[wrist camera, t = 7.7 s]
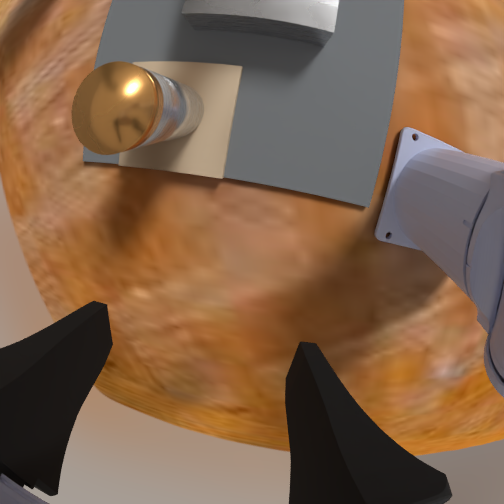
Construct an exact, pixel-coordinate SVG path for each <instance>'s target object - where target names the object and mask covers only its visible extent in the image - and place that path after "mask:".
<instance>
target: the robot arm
mask: <svg viewBox="0 0 504 504" xmlns="http://www.w3.org/2000/svg"><path fill="white" fill-rule="evenodd" d="M413 134H415V135H416V139H415V140H413V139H412V135H413ZM388 232H390V235H389V237H386V234H387V233H388ZM375 237H376V238H377V239H378V240H380V241H383V242H388V243H392V244H396V245H400V246H404V247H409V248H413V249H417V250H421V251H423V252H424V253H425V254H426V255H427V256H428V257H429V258H430V259H431V260H433V261H434V262H435V263H436V264H437V265H438V266H439V267H440V268H441V269H442V270H443V271H444V272H445V273H446V274H447V275H448V276H449V277H450V278H451V279H452V280H453V281H454V282H455V283H456V284H457V285H458V286H459V288H460V289H461V290H462V291H463V292H464V293H465V294H466V295H467V296H468V297H469V298H470V299H471V300H472V301H473V302H474V304H475V305H476V307H477V310H478V315H477V321H478V322H479V323H480V324H481V326H482V327H483V328H484V329H485V331H486V332H487V333H488V337H487V340H486V344H485V348H484V364H485V368H486V372H487V375H488V377H489V379H490V381H491V383H492V384H493V386H494V387H495V389H496V390H497V391H498V392H499V393H500V394H501V395H502V396H503V397H504V163H503V162H499V161H495V160H492V159H488V158H484V157H480V156H476V155H472V154H467V153H464V152H462V151H460V150H458V149H456V148H454V147H452V146H450V145H448V144H446V143H444V142H442V141H440V140H438V139H436V138H433V137H431V136H429V135H427V134H424V133H422V132H420V131H417V130H415V129H412V128H410V127H404V128H403V129H402V130H401V132H400V137H399V142H398V147H397V151H396V155H395V160H394V164H393V168H392V172H391V176H390V180H389V184H388V188H387V191H386V195H385V199H384V202H383V206H382V209H381V213H380V216H379V219H378V223H377V226H376V229H375ZM112 345H113V342H112V336H111V330H110V323H109V316H108V308H107V304H103V303H100V302H96V301H92V302H90V303H88V304H87V305H85V306H83V307H81V308H80V309H78V310H76V311H74V312H73V313H71V314H69V315H68V316H66V317H64V318H62V319H61V320H59V321H57V322H55V323H54V324H52V325H50V326H48V327H47V328H45V329H43V330H41V331H39V332H37V333H35V334H33V335H31V336H29V337H27V338H25V339H23V340H21V341H19V342H16V343H14V344H11V345H9V346H6V347H3V348H0V504H49V503H47V502H45V501H43V500H42V499H40V498H38V497H37V496H35V495H33V494H32V493H30V492H28V491H27V490H25V489H24V488H23V486H24V484H25V485H26V486H28V487H29V488H31V489H33V488H34V487H35V488H37V489H39V490H40V491H42V492H44V493H46V494H47V495H49V496H54V495H57V494H58V487H59V480H60V474H61V468H62V464H63V459H64V455H65V451H66V447H67V444H68V441H69V437H70V434H71V431H72V428H73V426H74V423H75V420H76V417H77V415H78V413H79V411H80V408H81V406H82V404H83V403H84V401H85V399H86V397H87V395H88V394H89V392H90V390H91V388H92V386H93V385H94V383H95V381H96V379H97V377H98V376H99V374H100V372H101V370H102V369H103V367H104V365H105V362H106V360H107V358H108V355H109V353H110V350H111V348H112ZM285 404H286V415H287V424H288V434H289V443H290V453H291V474H290V475H291V476H290V494H289V504H444V503H445V502H447V501H448V500H449V499H450V498H451V497H452V493H451V490H450V486H449V483H448V480H447V477H446V475H445V474H444V473H442V472H440V471H438V470H436V469H434V468H433V467H431V466H429V465H427V464H426V463H424V462H422V461H421V460H419V459H417V458H416V457H415V456H413V455H412V454H410V453H409V452H408V451H406V450H405V449H404V448H402V447H401V446H400V445H398V444H397V443H396V442H395V441H394V440H393V439H391V438H390V437H389V436H388V435H387V434H386V433H385V432H383V431H382V430H381V429H380V428H379V427H378V426H377V425H376V424H375V423H374V422H373V421H372V420H371V418H370V417H369V416H368V415H367V414H366V413H365V412H364V411H363V410H362V409H361V407H360V406H359V405H358V404H357V402H356V401H355V400H354V399H353V397H352V396H351V395H350V393H349V392H348V391H347V389H346V388H345V387H344V385H343V384H342V382H341V381H340V379H339V378H338V377H337V375H336V374H335V372H334V371H333V369H332V367H331V366H330V364H329V363H328V361H327V360H326V358H325V357H324V355H323V353H322V352H321V350H320V349H319V347H318V346H317V344H316V343H308V342H300V343H299V345H298V348H297V351H296V353H295V356H294V359H293V361H292V364H291V366H290V369H289V372H288V374H287V377H286V389H285Z"/></svg>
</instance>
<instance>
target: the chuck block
mask: <svg viewBox="0 0 504 504" xmlns="http://www.w3.org/2000/svg"><path fill="white" fill-rule="evenodd" d="M338 4H339V0H185V2H184V6H183V9H182V13H181V14H182V15H183V16H184V17H185V18H186V20H187V21H188V22H189V23H190V25H191V26H192V27H193V28H194V30H215V31H229V32H240V33H249V34H257V35H264V36H271V37H277V38H282V39H288V40H293V41H298V42H303V43H307V44H311V45H316V46H320V47H324V46H325V45H326V44H327V42H328V41H329V39H330V38H331V36H332V35H333V33H334V30H335V24H336V17H337V10H338Z"/></svg>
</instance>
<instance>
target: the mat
mask: <svg viewBox="0 0 504 504" xmlns="http://www.w3.org/2000/svg"><path fill="white" fill-rule="evenodd" d="M184 2H185V0H112V3H111V6H110V10H109V13H108V16H107V19H106V23H105V26H104V30H103V33H102V37H101V41H100V45H99V49H98V53H97V58H96V62H95V67H94V70H95V69H96V68H98V67H100V66H102V65H104V64H106V63H110V62H116V61H123V62H128V63H131V64H133V62H149V61H177V62H201V63H215V64H226V65H235V66H242V67H243V71H242V76H241V81H240V86H239V91H238V97H237V102H236V107H235V113H234V118H233V124H232V130H231V135H230V141H229V147H228V153H227V159H226V166H225V172H224V177H225V178H231V179H237V180H243V181H248V182H254V183H260V184H265V185H270V186H275V187H280V188H285V189H290V190H295V191H300V192H305V193H309V194H314V195H318V196H323V197H327V198H332V199H336V200H340V201H344V202H348V203H353V204H357V205H361V206H364V207H368V208H369V205H370V202H371V198H372V195H373V191H374V187H375V183H376V179H377V175H378V171H379V167H380V163H381V159H382V155H383V150H384V146H385V141H386V136H387V131H388V126H389V121H390V116H391V111H392V105H393V99H394V93H395V87H396V80H397V73H398V65H399V57H400V48H401V38H402V26H403V10H404V0H339V4H338V10H337V17H336V24H335V30H334V33H333V35H332V36H331V38H330V39H329V41H328V42H327V44H326V45H325V46H324V47H320V46H316V45H311V44H307V43H303V42H298V41H293V40H288V39H282V38H277V37H271V36H264V35H257V34H249V33H240V32H229V31H215V30H194V28H193V27H192V26H191V25H190V23H189V22H188V21H187V20H186V18H185V17H184V16H183V15H182V14H181V13H182V9H183V6H184ZM119 154H120V153H117V154H113V155H101V154H97V153H94V152H92V151H90V150H88V149H87V148H86V147H85V146H84V151H83V161H87V162H101V163H113V164H119Z"/></svg>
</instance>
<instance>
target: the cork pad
mask: <svg viewBox="0 0 504 504" xmlns="http://www.w3.org/2000/svg"><path fill="white" fill-rule="evenodd" d="M133 64H134V65H137V66H140V67H142V68H145V69H148V70H150V71H153V72H156V73H158V74H161V75H163V76H166V77H168V78H171V79H173V80H175V81H178V82H180V83H182V84H185V85H187V86H189V87H191V88H193V89H194V90H196V91H197V92H198V94H199V95H200V96H201V98H202V101H203V104H204V114H203V118H202V120H201V123H200V124H199V126H198V127H197V128H196V129H195V130H194V131H193V132H192V133H190V134H189V135H187V136H185V137H181V138H177V139H172V140H168V141H163V142H159V143H155V144H151V145H147V146H143V147H139V148H135V149H131V150H128V151H124V152H121V153H120V154H119V166H128V167H138V168H147V169H155V170H164V171H171V172H179V173H186V174H194V175H200V176H207V177H214V178H220V179H222V178H223V177H224V172H225V166H226V159H227V153H228V147H229V141H230V135H231V130H232V124H233V118H234V113H235V107H236V102H237V97H238V91H239V86H240V81H241V76H242V71H243V67H242V66H235V65H226V64H215V63H201V62H177V61H149V62H133Z"/></svg>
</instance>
